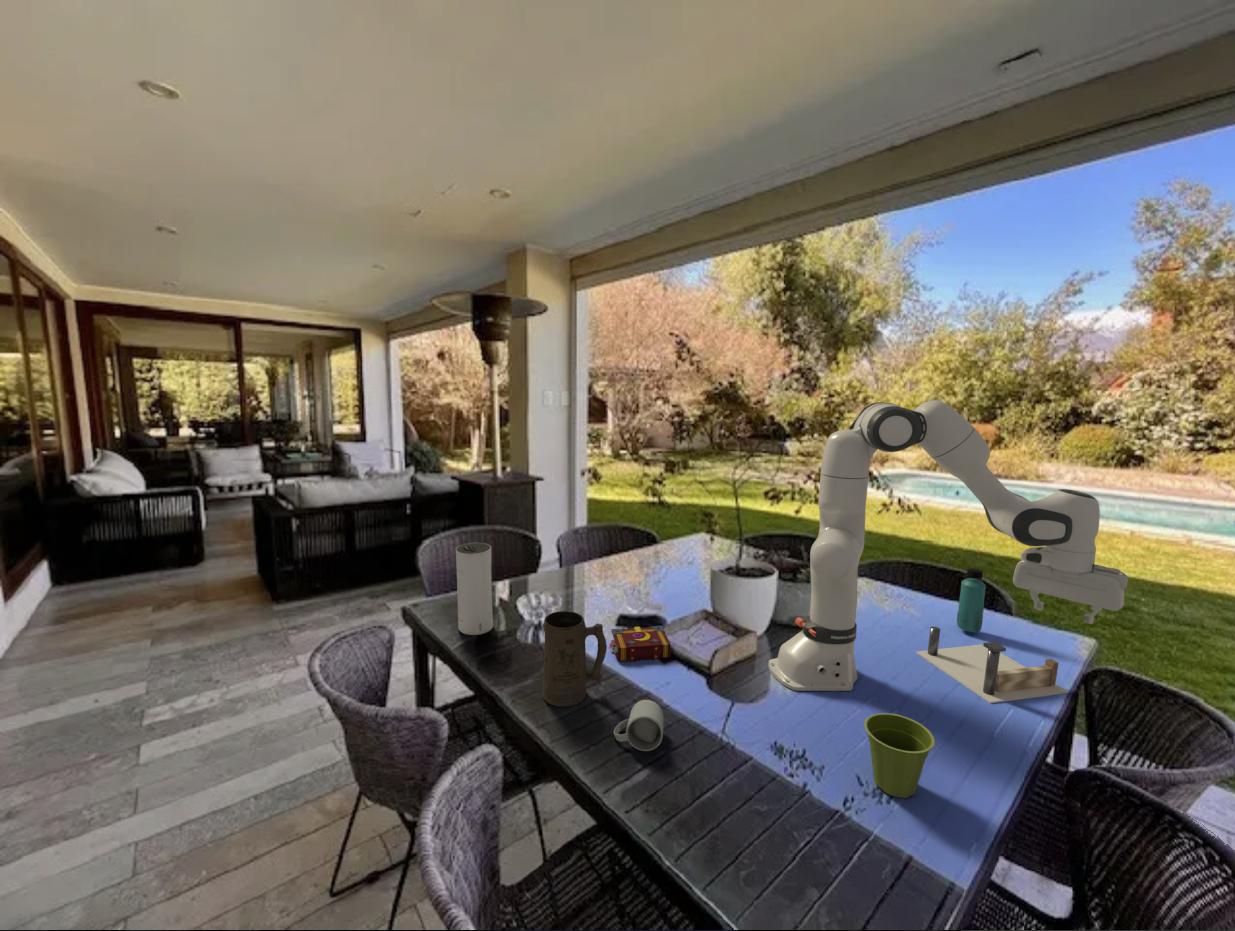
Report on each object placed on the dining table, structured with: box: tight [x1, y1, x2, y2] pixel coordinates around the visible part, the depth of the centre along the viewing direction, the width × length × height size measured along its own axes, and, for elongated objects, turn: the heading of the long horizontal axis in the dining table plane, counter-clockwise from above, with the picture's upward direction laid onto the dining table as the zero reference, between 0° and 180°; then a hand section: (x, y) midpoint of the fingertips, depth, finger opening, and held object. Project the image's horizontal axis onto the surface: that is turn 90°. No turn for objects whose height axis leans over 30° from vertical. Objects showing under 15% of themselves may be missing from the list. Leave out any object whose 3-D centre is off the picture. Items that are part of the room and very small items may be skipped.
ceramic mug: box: [613, 699, 664, 752], centre depth 117 cm, size 11×8×8 cm
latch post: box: [927, 626, 941, 656], centre depth 153 cm, size 2×2×8 cm
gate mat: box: [915, 643, 1070, 704], centre depth 146 cm, size 23×24×1 cm
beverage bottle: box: [956, 568, 987, 633], centre depth 166 cm, size 6×7×20 cm
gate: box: [995, 658, 1060, 692], centre depth 137 cm, size 17×2×6 cm, turn 102°
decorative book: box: [608, 625, 672, 663], centre depth 155 cm, size 11×16×5 cm
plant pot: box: [863, 712, 936, 799], centre depth 104 cm, size 12×12×11 cm
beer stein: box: [542, 610, 608, 708], centre depth 133 cm, size 15×11×20 cm
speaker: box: [455, 542, 494, 636], centre depth 166 cm, size 11×10×26 cm
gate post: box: [982, 641, 1007, 695], centre depth 134 cm, size 3×3×13 cm
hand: (1062, 615), depth 130 cm, fingers open, 8 cm apart
